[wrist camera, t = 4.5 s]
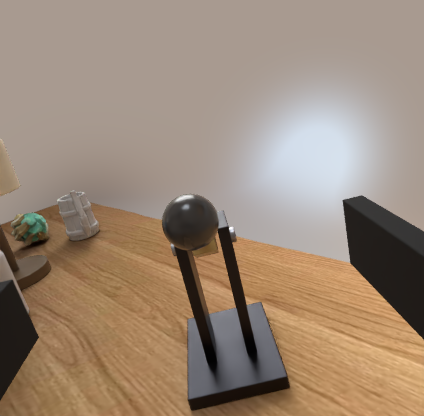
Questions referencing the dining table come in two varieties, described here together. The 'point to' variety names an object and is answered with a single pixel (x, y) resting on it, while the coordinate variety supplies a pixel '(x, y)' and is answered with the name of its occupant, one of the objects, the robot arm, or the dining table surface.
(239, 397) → the switch bracket
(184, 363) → the dining table surface
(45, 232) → the scepter
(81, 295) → the dining table surface
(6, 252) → the lamp
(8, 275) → the beverage can
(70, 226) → the mug
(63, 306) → the dining table surface
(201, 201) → the lamp switch
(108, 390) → the dining table surface
